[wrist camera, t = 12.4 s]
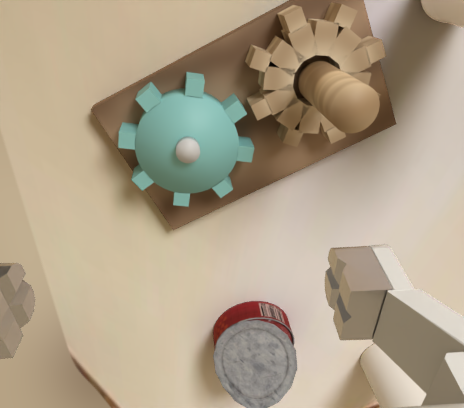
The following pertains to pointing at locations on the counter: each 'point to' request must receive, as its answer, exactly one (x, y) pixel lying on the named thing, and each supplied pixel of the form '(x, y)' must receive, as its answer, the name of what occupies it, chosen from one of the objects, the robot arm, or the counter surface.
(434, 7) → the drinking glass
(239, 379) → the canned food
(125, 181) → the counter surface
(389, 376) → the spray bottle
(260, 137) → the gear board
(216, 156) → the gear
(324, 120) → the loose gear
